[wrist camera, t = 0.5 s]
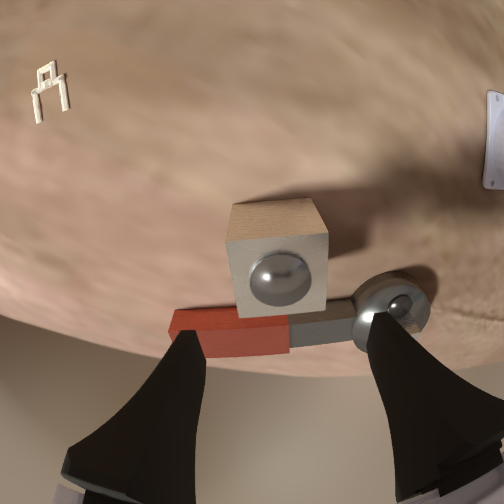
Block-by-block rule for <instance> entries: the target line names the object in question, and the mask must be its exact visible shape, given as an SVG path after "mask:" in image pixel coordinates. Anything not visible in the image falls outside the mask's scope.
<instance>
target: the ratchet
mask: <svg viewBox="0 0 504 504" xmlns="http://www.w3.org/2000/svg"><path fill="white" fill-rule="evenodd" d="M385 311H387V312H388V313H389V314H390V315H391V316H392V317H393V318H394V319H395V320H396V321H397V322H398V323H399V324H400V325H401V326H402V327H403V328H404V329H405V330H406V331H407V332H408V333H409V334H410V335H411V336H412V337H413V338H414V339H415V340H416V341H418V338H419V336H420V333H421V331H422V329H423V328H424V326H425V325H426V323H427V321H428V319H429V316H430V302H429V300H428V298H427V297H426V295H425V294H424V293H423V291H422V290H421V288H420V287H419V285H418V284H417V282H416V281H415V280H414V278H413V277H412V276H410V275H408V274H406V273H403V272H396V271H394V272H386V273H383V274H380V275H377V276H375V277H373V278H371V279H369V280H368V281H366V282H365V283H364V284H362V285H361V286H360V287H359V288H358V289H357V290H356V291H355V292H354V294H353V295H352V297H351V298H350V299H343V300H334V301H326V308H325V310H324V311H315V312H306V313H296V314H286V315H275V316H263V317H250V318H239V315H238V310H237V307H227V308H211V309H192V310H175V311H174V314H173V317H172V321H171V324H170V327H169V330H168V333H169V335H170V338H171V340H172V342H173V341H174V340H175V338H176V337H177V335H178V333H179V332H180V331H181V330H196V333H197V336H198V339H199V342H200V345H201V348H202V350H203V353H204V356H205V358H223V357H245V356H261V355H274V354H286V353H290V349H289V348H294V347H303V346H312V345H320V344H328V343H336V342H343V341H349V340H353V341H354V343H355V345H356V346H357V348H358V349H360V350H361V351H363V352H366V353H367V349H366V344H367V340H368V336H369V332H370V327H371V323H372V318H373V314H374V313H379V312H385Z"/></svg>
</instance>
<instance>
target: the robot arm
mask: <svg viewBox="0 0 504 504" xmlns="http://www.w3.org/2000/svg"><path fill="white" fill-rule="evenodd" d="M491 181H492V182H491ZM483 187H484V188H486V189H498V190H504V94H501V93H498V92H495V91H491V90H489V91H488V93H487V141H486V155H485V166H484V174H483ZM366 349H367V354H368V358H369V362H370V367H371V370H372V373H373V375H374V378H375V381H376V384H377V387H378V390H379V392H380V395H381V398H382V401H383V404H384V407H385V410H386V414H387V418H388V423H389V428H390V434H391V439H392V446H393V455H394V465H395V496H396V501H397V504H504V452H502V453H501V452H500V448H501V447H502V442H501V439H502V438H504V400H502V399H499V398H497V397H495V396H492V395H490V394H488V393H486V392H484V391H482V390H481V389H479V388H477V387H475V386H473V385H472V384H470V383H468V382H467V381H465V380H464V379H462V378H461V377H459V376H458V375H456V374H455V373H453V372H452V371H451V370H450V369H448V368H447V367H446V366H444V365H443V364H442V363H441V362H439V361H438V360H437V359H436V358H435V357H434V356H432V355H431V354H430V353H429V352H428V351H427V350H426V349H425V348H423V347H422V346H421V345H420V344H419V343H418V342H417V341H416V340H415V339H414V338H413V337H412V336H411V335H410V334H409V333H408V332H407V331H406V330H405V329H404V328H403V327H402V326H401V325H400V324H399V323H398V322H397V321H396V320H395V319H394V318H393V317H392V316H391V315H390V314H389V313H388V312H387V311H385V312H379V313H374V314H373V318H372V323H371V327H370V332H369V336H368V340H367V344H366ZM205 376H206V359H205V356H204V353H203V350H202V348H201V345H200V342H199V339H198V336H197V333H196V330H181V331H180V332H179V333H178V335H177V337H176V338H175V340H174V341H173V343H172V344H171V346H170V347H169V349H168V351H167V352H166V354H165V355H164V357H163V358H162V359H161V361H160V362H159V364H158V365H157V367H156V368H155V370H154V371H153V372H152V374H151V375H150V376H149V377H148V379H147V380H146V381H145V383H144V384H143V385H142V386H141V388H140V389H139V390H138V391H137V392H136V394H135V395H134V396H133V397H132V398H131V399H130V400H129V401H128V402H127V403H126V404H125V405H124V406H123V407H122V408H121V409H120V410H119V411H118V412H117V413H116V414H115V415H114V416H113V417H112V418H111V419H110V420H108V421H107V422H106V423H105V424H103V425H102V426H101V427H100V428H98V429H97V430H96V431H94V432H93V433H92V434H91V435H89V436H87V437H86V438H84V439H83V440H81V441H80V442H78V443H76V444H75V445H73V446H71V447H70V448H69V449H68V451H67V454H66V457H65V460H64V463H63V467H62V470H61V475H62V476H63V477H64V478H65V479H67V480H69V481H71V482H72V483H74V484H76V485H78V486H80V487H82V488H84V489H86V491H85V494H82V493H80V492H78V491H75V490H73V489H70V488H68V487H66V486H63V485H61V484H57V486H56V490H55V493H54V497H53V502H52V504H196V496H195V447H196V432H197V425H198V420H199V414H200V409H201V403H202V398H203V392H204V385H205ZM421 494H422V495H421ZM419 495H420V496H419ZM416 496H417V497H416ZM413 497H415V498H413ZM411 498H412V499H411ZM408 499H409V500H408ZM405 500H406V501H405ZM402 501H403V502H402ZM399 502H400V503H399Z"/></svg>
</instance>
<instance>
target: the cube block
mask: <svg viewBox="0 0 504 504" xmlns="http://www.w3.org/2000/svg"><path fill="white" fill-rule="evenodd" d="M225 243H226V249H227V255H228V260H229V266H230V272H231V277H232V283H233V288H234V294H235V299H236V305H237V310H238V315H239V318H250V317H263V316H275V315H286V314H296V313H306V312H315V311H324V310H325V308H326V292H327V273H328V245H329V232H328V230H327V228H326V226H325V224H324V222H323V220H322V218H321V216H320V215H319V213H318V211H317V209H316V207H315V205H314V203H313V201H312V199H311V198H299V199H287V200H275V201H264V202H253V203H244V204H234V205H232V208H231V214H230V219H229V224H228V230H227V235H226V241H225Z"/></svg>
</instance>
